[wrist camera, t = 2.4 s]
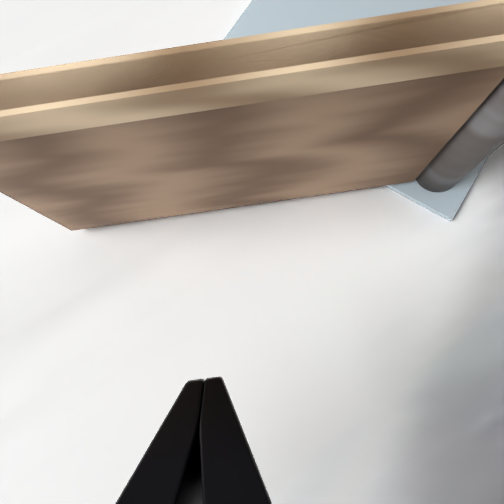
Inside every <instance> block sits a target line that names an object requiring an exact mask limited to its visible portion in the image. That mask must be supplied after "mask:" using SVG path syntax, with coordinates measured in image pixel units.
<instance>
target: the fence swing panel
mask: <svg viewBox="0 0 504 504" xmlns="http://www.w3.org/2000/svg"><path fill="white" fill-rule="evenodd" d="M503 78H504V0H479V1H473V2H466V3H460V4H453V5H447V6H440V7H434V8H427V9H421V10H414V11H408V12H401V13H395V14H388V15H382V16H375V17H369V18H362V19H356V20H349V21H343V22H336V23H330V24H323V25H317V26H310V27H304V28H297V29H291V30H284V31H278V32H271V33H265V34H258V35H252V36H245V37H238V38H232V39H225V40H219V41H212V42H206V43H199V44H193V45H186V46H180V47H173V48H167V49H160V50H154V51H147V52H141V53H134V54H128V55H121V56H115V57H108V58H102V59H95V60H89V61H82V62H76V63H69V64H63V65H56V66H50V67H43V68H37V69H30V70H24V71H17V72H11V73H4V74H0V192H1V193H3V194H5V195H7V196H9V197H11V198H12V199H14V200H16V201H18V202H20V203H22V204H23V205H25V206H27V207H29V208H31V209H33V210H35V211H36V212H38V213H40V214H42V215H44V216H46V217H47V218H49V219H51V220H53V221H55V222H57V223H58V224H60V225H62V226H64V227H66V228H68V229H70V230H71V231H72V230H79V229H86V228H93V227H99V226H106V225H113V224H120V223H127V222H134V221H141V220H148V219H155V218H162V217H169V216H176V215H183V214H190V213H197V212H204V211H211V210H218V209H225V208H232V207H239V206H246V205H253V204H260V203H267V202H274V201H281V200H288V199H295V198H302V197H309V196H316V195H323V194H330V193H337V192H344V191H351V190H358V189H365V188H372V187H379V186H386V185H393V184H400V183H407V182H413V181H414V180H415V179H416V178H417V177H418V176H419V174H420V173H421V172H422V171H423V170H424V169H425V168H426V166H427V165H428V164H429V163H430V162H431V161H432V160H433V158H434V157H435V156H436V155H437V154H438V153H439V152H440V150H441V149H442V148H443V147H444V146H445V145H446V144H447V142H448V141H449V140H450V139H451V138H452V137H453V136H454V134H455V133H456V132H457V131H458V130H459V129H460V128H461V126H462V125H463V124H464V123H465V122H466V121H467V119H468V118H469V117H470V116H471V115H472V114H473V113H474V111H475V110H476V109H477V108H478V107H479V106H480V105H481V103H482V102H483V101H484V100H485V99H486V98H487V97H488V95H489V94H490V93H491V92H492V91H493V90H494V89H495V87H496V86H497V85H498V84H499V83H500V82H501V81H502V79H503Z"/></svg>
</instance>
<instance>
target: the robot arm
mask: <svg viewBox="0 0 504 504" xmlns="http://www.w3.org/2000/svg"><path fill="white" fill-rule="evenodd" d="M116 504H272V503H271V500H270V497H269V495H268V492H267V490H266V487H265V485H264V482H263V480H262V477H261V475H260V472H259V470H258V467H257V464H256V462H255V459H254V457H253V454H252V452H251V449H250V447H249V444H248V442H247V439H246V437H245V434H244V432H243V429H242V426H241V424H240V421H239V419H238V416H237V414H236V411H235V409H234V406H233V404H232V401H231V399H230V396H229V393H228V391H227V388H226V386H225V383H224V381H223V379H222V377H212V378H207V379H206V380H204V379H197V380H190V381H188V382H187V383H186V384H185V386H184V387H183V389H182V391H181V393H180V394H179V396H178V398H177V399H176V401H175V403H174V405H173V406H172V408H171V410H170V411H169V413H168V415H167V416H166V418H165V420H164V422H163V423H162V425H161V427H160V428H159V430H158V432H157V434H156V435H155V437H154V439H153V440H152V442H151V444H150V446H149V447H148V449H147V451H146V452H145V454H144V456H143V458H142V459H141V461H140V463H139V464H138V466H137V468H136V470H135V471H134V473H133V475H132V476H131V478H130V480H129V482H128V483H127V485H126V487H125V488H124V490H123V492H122V493H121V495H120V497H119V499H118V500H117V502H116Z"/></svg>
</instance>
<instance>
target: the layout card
mask: <svg viewBox="0 0 504 504" xmlns="http://www.w3.org/2000/svg"><path fill="white" fill-rule="evenodd" d="M473 1H479V0H252V2H251V3H250V4H249V6H248V7H247V8H246V10H245V11H244V13H243V14H242V15H241V17H240V18H239V19H238V21H237V22H236V24H235V25H234V26H233V28H232V29H231V30H230V32H229V33H228V34H227V36H226V37H225V39H232V38H238V37H245V36H252V35H258V34H265V33H271V32H278V31H284V30H291V29H297V28H304V27H310V26H317V25H323V24H330V23H336V22H343V21H349V20H356V19H362V18H369V17H375V16H382V15H388V14H395V13H401V12H408V11H414V10H421V9H427V8H434V7H440V6H447V5H453V4H460V3H466V2H473ZM225 39H224V40H225ZM486 159H487V158H485V159H484V160H483V161H482V162H481V163H480V164H478V165H477V166H476V167H475V168H474V169H473V170H471V171H470V172H469V173H468V174H467V175H466V176H465V177H463V178H462V179H461V180H460V181H459V182H458V183H456V184H455V185H454V186H453V187H452V188H451V189H449V190H447V191H444V192H438V193H437V192H431V191H428V190H426V189H424V188H423V187H421V186H420V185H419V184H418V182H417V181H416V179H415V180H414V181H413V182H407V183H400V184H393V185H386V187H388V188H390V189H392V190H394V191H396V192H397V193H399V194H401V195H403V196H405V197H407V198H408V199H410V200H412V201H414V202H416V203H418V204H419V205H421V206H423V207H425V208H427V209H429V210H430V211H432V212H434V213H436V214H438V215H440V216H441V217H443V218H445V219H447V220H449V221H451V220H453V218H454V216H455V214H456V213H457V211H458V209H459V207H460V205H461V204H462V202H463V200H464V198H465V197H466V195H467V193H468V191H469V189H470V188H471V186H472V184H473V182H474V181H475V179H476V177H477V175H478V173H479V172H480V170H481V168H482V166H483V165H484V163H485V161H486Z"/></svg>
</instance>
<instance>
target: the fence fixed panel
mask: <svg viewBox="0 0 504 504" xmlns="http://www.w3.org/2000/svg"><path fill="white" fill-rule="evenodd" d="M503 143H504V78H503V79H502V81H501V82H500V83H499V84H498V85H497V86H496V87H495V89H494V90H493V91H492V92H491V93H490V94H489V95H488V97H487V98H486V99H485V100H484V101H483V102H482V103H481V105H480V106H479V107H478V108H477V109H476V110H475V111H474V113H473V114H472V115H471V116H470V117H469V118H468V119H467V121H466V122H465V123H464V124H463V125H462V126H461V128H460V129H459V130H458V131H457V132H456V133H455V134H454V136H453V137H452V138H451V139H450V140H449V141H448V142H447V144H446V145H445V146H444V147H443V148H442V149H441V150H440V152H439V153H438V154H437V155H436V156H435V157H434V158H433V160H432V161H431V162H430V163H429V164H428V165H427V166H426V168H425V169H424V170H423V171H422V172H421V173H420V174H419V176H418V177H417V178H416V181H417V182H418V184H419V185H420V186H421V187H423V188H424V189H426V190H428V191H431V192H437V193H438V192H444V191H447V190H449V189H451V188H452V187H453V186H454V185H455V184H456V183H458V182H459V181H460V180H461V179H462V178H463V177H465V176H466V175H467V174H468V173H469V172H470V171H471V170H473V169H474V168H475V167H476V166H477V165H478V164H480V163H481V162H482V161H483V160H484V159H485V158H487V157H488V156H489V155H490V154H491V153H492V152H494V151H495V150H496V149H497V148H498V147H499V146H500V145H502V144H503Z"/></svg>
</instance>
